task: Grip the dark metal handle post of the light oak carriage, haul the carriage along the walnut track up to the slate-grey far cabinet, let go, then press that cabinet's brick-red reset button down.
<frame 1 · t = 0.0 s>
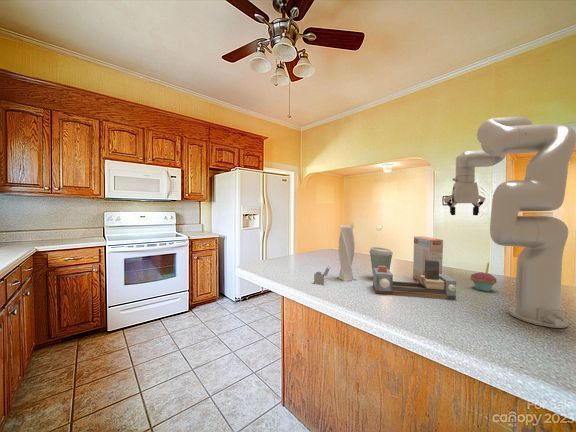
hand: (464, 215, 116), 31 cm above the countertop, tool pointing down, fingers open, 9 cm apart
disposable coffee cup: (380, 279, 115), on the countertop
carriage: (431, 273, 95), point 8 cm above the countertop, slide at 0.0 cm
reset button: (382, 271, 99), point 8 cm above the countertop, slide at 0.0 cm
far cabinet: (382, 290, 99), on the countertop
track: (410, 292, 96), on the countertop
cupcake: (483, 290, 101), on the countertop
grey rectangular block: (445, 294, 94), resting on track
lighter: (322, 284, 107), on the countertop
skyscraper: (346, 280, 114), on the countertop
cracker box: (426, 283, 110), on the countertop
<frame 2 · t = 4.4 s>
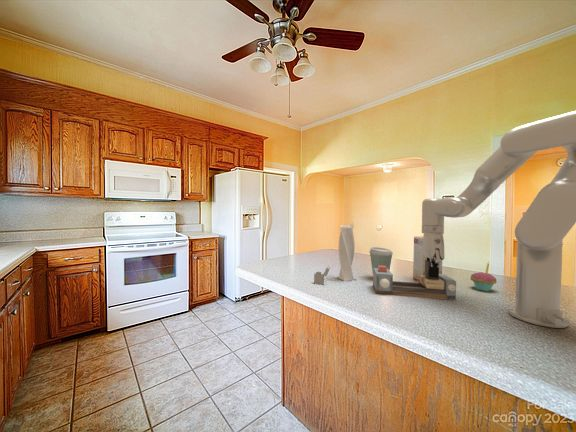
hand: (431, 275, 95), 7 cm above the countertop, tool pointing down, fingers closed on carriage, 3 cm apart
carriage: (431, 273, 95), point 8 cm above the countertop, slide at 0.0 cm, touching gripper
everything else where it was.
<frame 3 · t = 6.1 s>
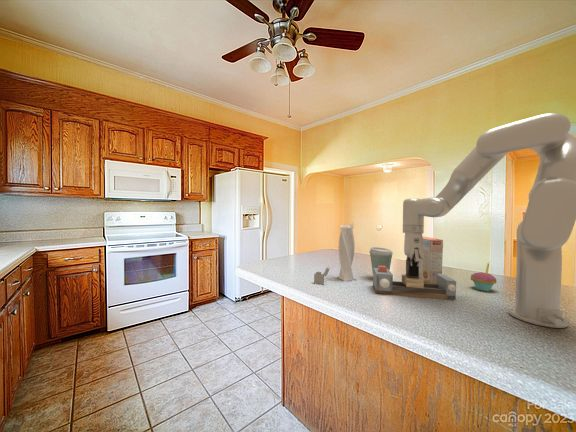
hand: (412, 274, 96), 7 cm above the countertop, tool pointing down, fingers closed on carriage, 3 cm apart
carriage: (412, 272, 96), point 8 cm above the countertop, slide at 7.2 cm, touching gripper
everything else where it was.
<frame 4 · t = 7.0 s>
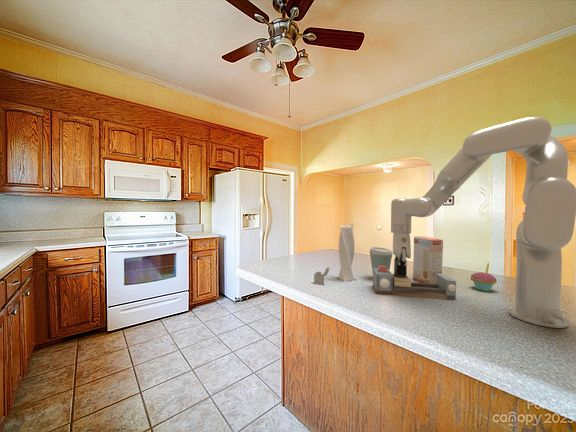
hand: (400, 273, 97), 7 cm above the countertop, tool pointing down, fingers closed on carriage, 3 cm apart
carriage: (400, 271, 97), point 8 cm above the countertop, slide at 11.7 cm, touching gripper
everything else where it was.
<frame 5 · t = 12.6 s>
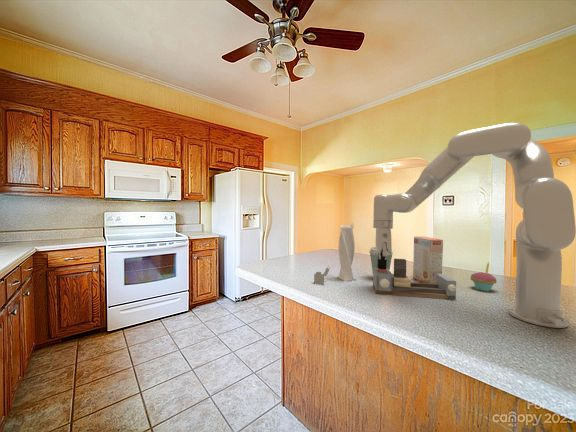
hand: (381, 268, 99), 9 cm above the countertop, tool pointing down, fingers closed
carriage: (399, 271, 97), point 8 cm above the countertop, slide at 11.8 cm
reset button: (382, 273, 99), point 7 cm above the countertop, slide at 1.0 cm, touching gripper
everything else where it was.
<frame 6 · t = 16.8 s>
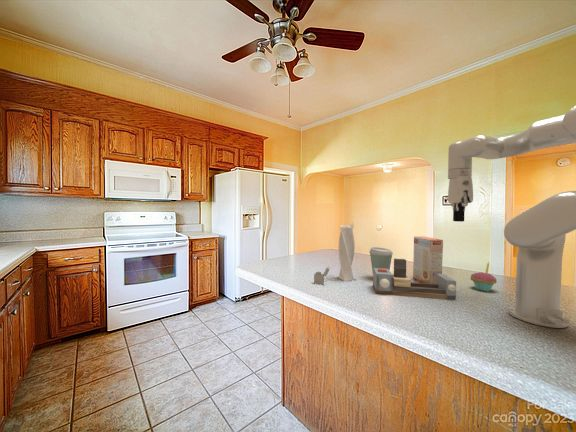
hand: (458, 221, 93), 29 cm above the countertop, tool pointing down, fingers closed
reset button: (382, 273, 99), point 7 cm above the countertop, slide at 1.1 cm
everything else where it was.
at the end: carriage slide at 11.8 cm; reset button slide at 1.1 cm; the gripper is holding nothing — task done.
